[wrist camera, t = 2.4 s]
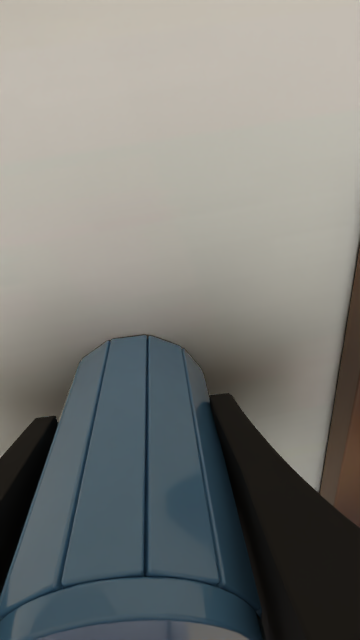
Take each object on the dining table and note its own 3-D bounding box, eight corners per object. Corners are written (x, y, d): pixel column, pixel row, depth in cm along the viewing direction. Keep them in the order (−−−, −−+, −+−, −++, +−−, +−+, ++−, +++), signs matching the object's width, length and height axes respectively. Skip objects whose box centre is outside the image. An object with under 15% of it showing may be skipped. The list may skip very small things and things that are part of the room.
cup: (207, 431, 13) (267, 715, 6) (88, 447, 13) (24, 754, 6) (199, 327, 11) (278, 595, 4) (56, 345, 11) (-93, 651, 4)
